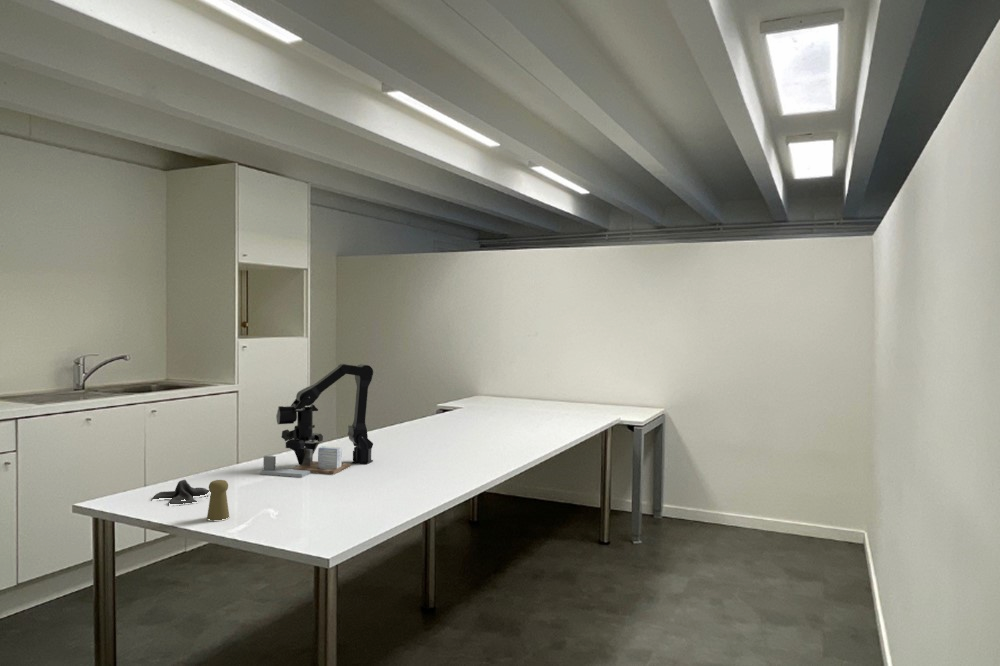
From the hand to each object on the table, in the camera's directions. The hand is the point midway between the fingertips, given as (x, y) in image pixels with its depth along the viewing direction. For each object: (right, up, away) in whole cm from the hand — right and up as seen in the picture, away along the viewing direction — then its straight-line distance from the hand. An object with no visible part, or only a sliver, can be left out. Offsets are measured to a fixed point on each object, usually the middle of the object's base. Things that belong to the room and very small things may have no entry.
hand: (304, 462), depth 263 cm
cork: (-6, -4, -66) cm, 67 cm away
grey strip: (-4, -2, -11) cm, 12 cm away
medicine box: (+10, -2, -3) cm, 11 cm away
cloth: (-25, -3, -43) cm, 50 cm away
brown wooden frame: (+7, -2, -2) cm, 8 cm away
